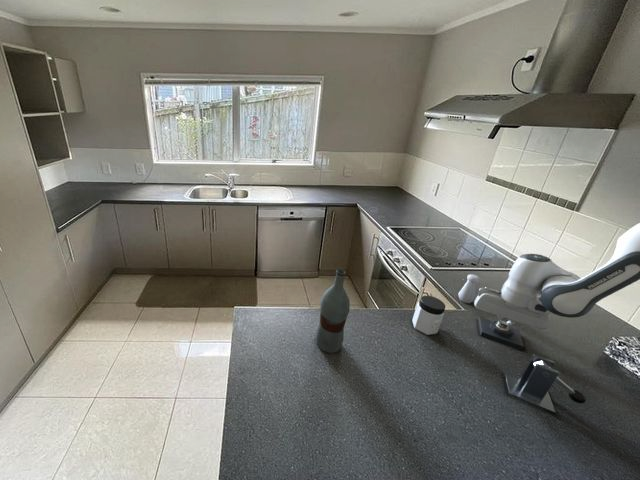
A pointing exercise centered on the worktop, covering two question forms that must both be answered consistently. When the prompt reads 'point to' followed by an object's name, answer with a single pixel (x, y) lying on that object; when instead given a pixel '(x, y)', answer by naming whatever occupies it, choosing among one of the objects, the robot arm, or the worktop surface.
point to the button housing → (500, 334)
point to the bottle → (333, 315)
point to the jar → (428, 315)
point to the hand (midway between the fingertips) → (502, 326)
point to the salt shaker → (469, 289)
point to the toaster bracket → (534, 383)
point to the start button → (502, 328)
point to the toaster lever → (567, 387)
